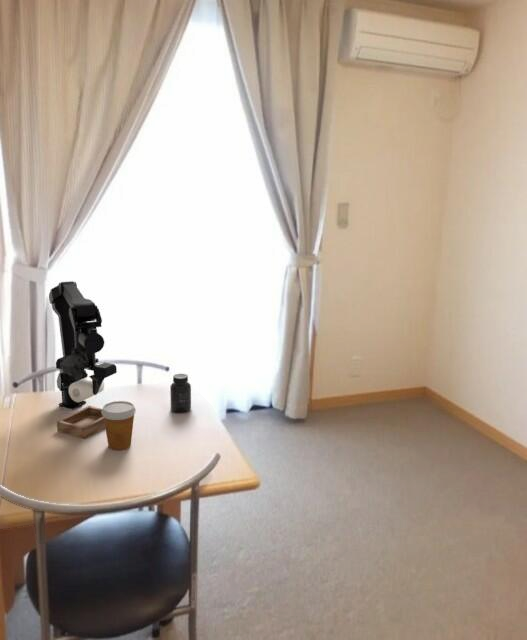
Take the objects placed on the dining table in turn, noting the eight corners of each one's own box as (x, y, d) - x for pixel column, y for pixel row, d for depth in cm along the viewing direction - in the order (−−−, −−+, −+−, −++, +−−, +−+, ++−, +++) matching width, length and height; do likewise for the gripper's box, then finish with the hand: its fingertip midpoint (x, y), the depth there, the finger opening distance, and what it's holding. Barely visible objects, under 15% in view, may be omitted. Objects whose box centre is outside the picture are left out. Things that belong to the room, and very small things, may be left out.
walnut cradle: (57, 431, 168) (56, 421, 168) (89, 414, 181) (89, 405, 180) (84, 438, 164) (84, 428, 164) (115, 421, 177) (115, 411, 176)
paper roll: (84, 404, 165) (83, 385, 164) (68, 400, 167) (67, 381, 166) (105, 393, 174) (104, 375, 172) (89, 390, 176) (89, 372, 174)
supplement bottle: (193, 406, 191) (193, 373, 188) (188, 414, 184) (188, 380, 181) (173, 404, 191) (173, 371, 188) (168, 412, 185) (167, 378, 182)
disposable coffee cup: (142, 441, 164) (142, 403, 161) (124, 455, 155) (123, 415, 152) (115, 435, 167) (113, 398, 164) (95, 449, 158) (94, 410, 155)
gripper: (40, 345, 163) (43, 396, 166) (91, 355, 156) (93, 407, 159) (67, 337, 173) (70, 384, 176) (117, 345, 166) (118, 395, 169)
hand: (87, 392), depth 170 cm, fingers closed on paper roll, 6 cm apart
